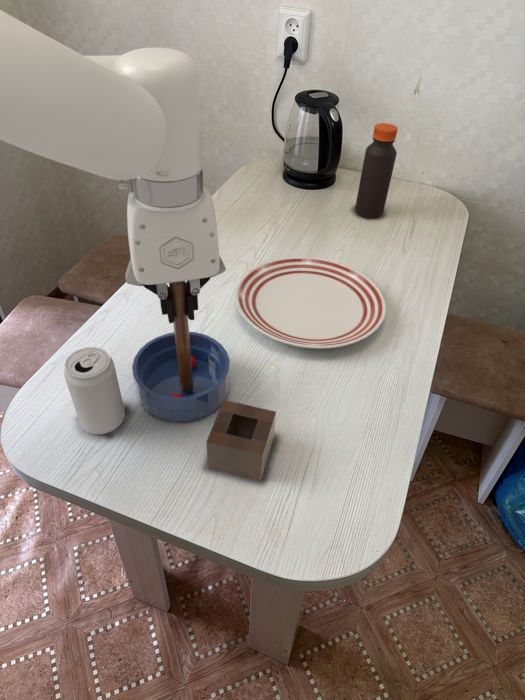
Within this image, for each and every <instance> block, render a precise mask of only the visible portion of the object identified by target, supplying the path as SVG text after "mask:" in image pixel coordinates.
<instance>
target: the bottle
mask: <svg viewBox="0 0 525 700" xmlns="http://www.w3.org/2000/svg"><path fill="white" fill-rule="evenodd" d="M398 130H399V129H398V127H397V126H396V125H394V124H392V123H387V122H380V123H376V124H375V125H374V128H373V132H372V142H371V143H370V144H369V145H368V146H367V147H366V148H365V152H364V158H363V163H362V169H361V174H360V180H359V185H358V190H357V196H356V201H355V207H354V210H355V213H356V214H357V215H358V216H359V217H362V218H365V219H378V218H380V217H382V216H383V214H384V211H385V207H386V202H387V199H388V193H389V188H390V185H391V180H392V176H393V171H394V168H395V163H396V158H397V154H398V151H397V149H396V148H395V146H394V143H395V142H396V138H397V135H398Z"/></svg>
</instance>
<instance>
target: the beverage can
mask: <svg viewBox="0 0 525 700" xmlns="http://www.w3.org/2000/svg"><path fill="white" fill-rule="evenodd" d="M109 354H110V353H108V352H107V351H106V350H105V349H102V348H101V347H96V346H88V347H83V348H82V347H81V348H80V349H77V350H75V351H73V352H72V353H71V354H69V356H68V357H66V359H65V362H64V370H63V376H64V379H65V383H66V385H67V388H68V391H69V395H70V398H71V401H72V404H73V407H74V410H75V413H76V416H77V419H78V422H79V425H80V426H81V428H82V429H83V430H84V431H85V432H86V433H89V434H92V435H103V434H108V433H111V432H113V431H114V430H116V429H118V428H119V427H120V426H121V425H122V424H123V422H124V420H125V417H126V411H125V406H124V400H123V397H122V392H121V387H120V384H119V379H118V375H117V374H118V373H117V370H116V366H115V362H114V360H113V358H112V357H111V356H110V355H109Z"/></svg>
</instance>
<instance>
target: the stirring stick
mask: <svg viewBox="0 0 525 700" xmlns="http://www.w3.org/2000/svg"><path fill="white" fill-rule="evenodd" d="M185 282H186V281H179V282H171V283H168V287H169V288H170V294H171V296H172V301H173V310H174V320H175V322H173V323H172V324H173V333H174V334H175V343H176V353H177V362H178V371H179V381H180V389H181V391H183V392H190V391H192V390H193V388H194V386H193V374H192V361H191V349H190V336H189V332H190V324H189V318H188V314H187V301H186V287H185Z"/></svg>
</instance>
